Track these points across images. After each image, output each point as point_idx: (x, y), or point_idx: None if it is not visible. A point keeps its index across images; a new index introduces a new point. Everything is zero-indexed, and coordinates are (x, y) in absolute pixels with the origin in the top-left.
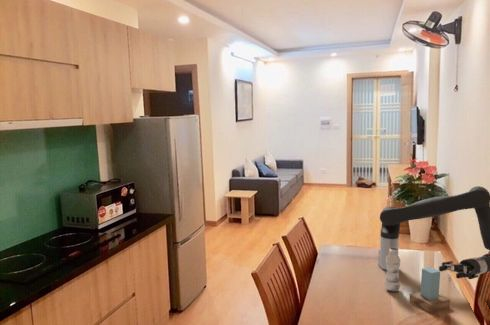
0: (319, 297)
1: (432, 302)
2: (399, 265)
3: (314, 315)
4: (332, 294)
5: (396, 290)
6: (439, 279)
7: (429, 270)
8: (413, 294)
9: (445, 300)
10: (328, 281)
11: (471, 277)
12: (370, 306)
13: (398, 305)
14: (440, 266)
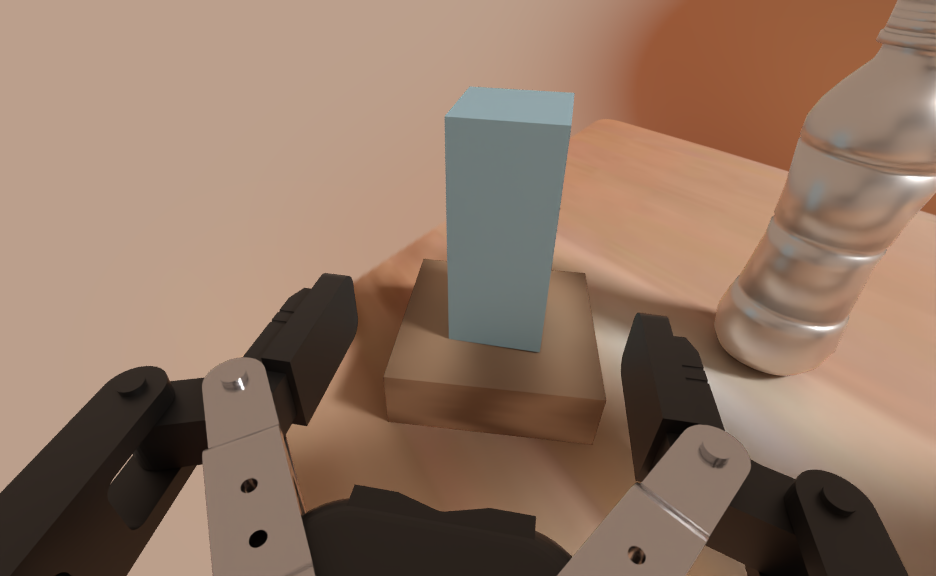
0: (728, 165)
1: (438, 278)
2: (815, 170)
3: (616, 129)
4: (747, 189)
5: (714, 326)
6: (447, 196)
7: (513, 96)
8: (573, 283)
9: (397, 344)
10: (905, 231)
11: (133, 478)
12: (608, 206)
13: (568, 262)
14: (655, 317)
